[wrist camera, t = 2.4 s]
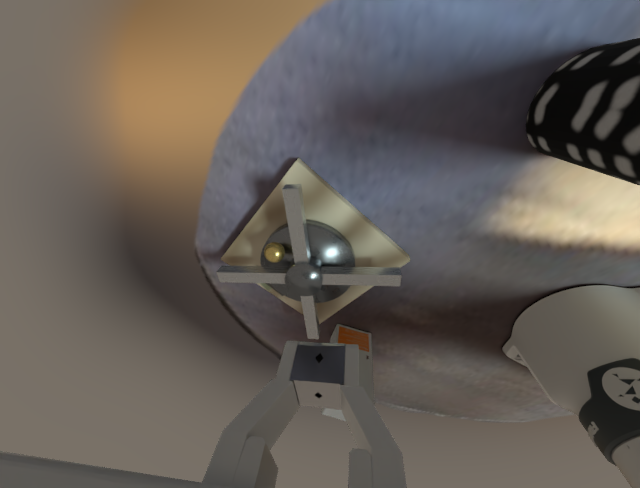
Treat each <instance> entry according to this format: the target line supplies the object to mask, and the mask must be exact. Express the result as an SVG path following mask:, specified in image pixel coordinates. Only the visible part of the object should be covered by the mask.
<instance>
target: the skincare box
mask: <svg viewBox="0 0 640 488" xmlns="http://www.w3.org/2000/svg"><path fill="white" fill-rule="evenodd" d="M330 343H345V344H358V346H359V386H361V387H363V388H364V389H365V391H366V393H367V394H368V396H369V398H370V399H371V401H372V403H373V404H374V383H373V361H372V340H371V333H369V332H365V331H361V330H358V329H354V328H351V327H348V326H344V325H341V324H337V325H336V327H335V330H334V332H333V334H332V336H331V338H330ZM374 406H375V405H374ZM321 413H322V414H323V415H327V416H330V417H334V418H337V419H339V420H343V421H346V420H345V418H344V415H343V413H342V410H337V409H329V408H322V411H321Z"/></svg>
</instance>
